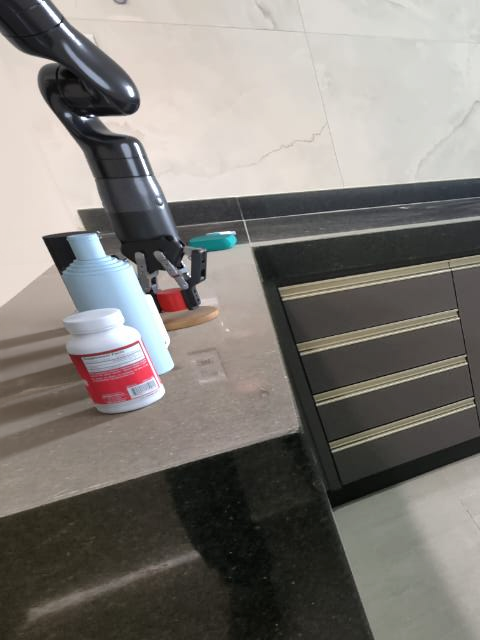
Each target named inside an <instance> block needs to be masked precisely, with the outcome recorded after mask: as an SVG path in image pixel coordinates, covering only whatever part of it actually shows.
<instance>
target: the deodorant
mask: <svg viewBox="0 0 480 640" xmlns="http://www.w3.org/2000/svg"><path fill="white" fill-rule="evenodd" d="M87 233H94V231H93V230H74V231H66V232H59V233H52V234H45V235H43V236H41V238H42V241H43V243H44V245H45V247H46V248H47V251H48V253H49V255H50V257H51V259H52V261H53V264H54V265H55V267H56V269H57V271H58V273H59V275H60V277H61V280H62V282H63V283H64V281H63V279H62V275H63V273H62V272H63V271H65V270H66V268H67V267H69V266H70V264H71V263H74V262H73V261H74V260H76V256H75V254H74V252H73V250H72V248H71V246H70V244H69V241H68V240H67V237H68V236H71V235H78V234H87ZM64 286H65V288H66V290H67V292H68V294H69V296H70V298H71V300H72V302H73V305H74V306H75V308H76V309H77V307H76V305H75V303H74V301H73V299H72V297H71V295H70V293H69V291H68V289H67V287H66V285H65V283H64Z"/></svg>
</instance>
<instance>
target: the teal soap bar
mask: <svg viewBox="0 0 480 640" xmlns="http://www.w3.org/2000/svg"><path fill="white" fill-rule="evenodd" d="M235 235H237V233H236V231H235V230H233V231H231V230H230V231H229V230H228V231H227V230H226V231H215V232H209V233H205V234H204V235H199V236H195V237H192V238H190V239H189V241H188V243H187V246H189V247H194V248H200V247H204V248H206V250H207V252H215V251H222V250H223V251H225V250H230V249H232V248H233V247H234V246H235V245H236V244H237V241H238V240H237V238H236V236H235ZM233 245H234V246H233ZM232 246H233V247H232Z"/></svg>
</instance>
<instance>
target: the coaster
mask: <svg viewBox="0 0 480 640" xmlns="http://www.w3.org/2000/svg"><path fill="white" fill-rule="evenodd" d="M159 315H160V317H161V320H162V322H163V324H164V327H165V329H166V331H172V330H173V331H174V330H180V329H185V328H190V327H194V326H198V325H202V324H205V323H207V322H210V321H212V320H214V319H217V318H218V317H219V315H220V313H219V309H218V307H216V306H212V305H199V308H197V309H196V310H190V311H189V310H188V309H185V310H182V311H176V312H165V313H159Z"/></svg>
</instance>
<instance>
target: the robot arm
mask: <svg viewBox="0 0 480 640" xmlns="http://www.w3.org/2000/svg"><path fill="white" fill-rule="evenodd" d="M0 34H1V35H2V37H4V38H5V40H7V42H8V43H10V45H12V46H13V47H14V48H15V49H16V50H18V51H19V52H21V53H22V54H25V55H28V56H30V57H35V58H40V59H44V60H48V61H52V62H49V63H45V64H43V65H42V66H41V67H40V68H39V70H38V72H37V78H36V81H37V88H38V91H39V94H40V95H41V97H42V99H43V101H44V102H45V104H46V105H47V106H48V108H49V109H50V110H51V111H52V113H53V114H54V115H55V117H56V118H57V119H58V121H59V122H60V124H61V125H62V126H63V127H64V128H65V130H66V131H67V132H68V134H69V135H70V136H71V138H72V139H73V140H74V141H75V143H76V144H77V145H78V147H79V148H80V150H81V151H82V153H83V156H84V158H85V160H86V162H87V165H88V168H89V170H90V172H91V175H92V177H93V179H94V183H95V185H96V190H97V193H98V196H99V199H100V201H101V206H102V207H103V209H104V211H105V214H106V216H107V218H108V221H109V222H110V225H111V227H112V230H113V232H114V234H115V237H116V239H117V240H118V241H119V243H120V248H119V251H117V252H114V253H111V254H108V255H109V256H111V257H113V258H117V260H122V261H123V262H128V263H129V261H130V262H132V263H133V264H134V265H136V271H135V270H134V272H135V274H136V277H137V279H138V281H139V284H140V286H141V288H142V291H143V293H144V295H147V294H148V295H151V296H152V298H153V301H154V303H155V305H156V308H157V310H158V313H165V312H163V310H162V309H161V307H160V304H159V302H158V299H157V296H156V293H157V292H159V291H162V288H159V279H158V276H159V273H160V271H162V272H166V273H167V274H168V275H169V276H170V278H173V279H174V281H175V282H176V283H177V285H178V286H179V288H182V290H181V293H182V295H183V298H184V300H185V303H186V306H187V308H188V310H189V311H190V310H196V309H197V308H199V306H201V304H202V300H201V298H200V294H199V292H198V290H197V285H199V284H201V283H203V282H205V281H206V280H207V264H208V251H207V250H206V248H204V247H200V248H194V247H189V246H188V245H187V244H186V243H185V242H184V241H183V240H182V238H180V236H179V230H178V227H177V224H176V221H175V219H174V217H173V214H172V212H171V209H170V205H169V204H168V200H167V198H166V195H165V193H164V191H163V188H162V186H161V185H160V183H159V180H158V179H157V177H156V175H155V172H154V170H153V167H152V165H151V162H150V159H149V157H148V154H147V150H146V148H145V146H144V144H143V142H141V140H140V139H138V137H136V136H133V135H128V134H123V133H117V132H114V131H112V130H110V128H109V127H107V125H105V123H103V121H102V120H101V118H103V117H104V118H106V117H109V118H110V117H127V116H131V115H134V114H136V113H137V112H138V111H139V109H140V107H141V99H142V98H141V94H140V91H139V89H138V86H137V85H136V83H135V82H134V79H133V78H132V77H131V76H130V75H129V74H128V73H127V71H126V70H124V68H123V67H122V66H121V65H120V64H119V63H117V62H116V60H114V59H113V58H112V57H111V56H110V55H108V54H107V53H106V52H105V51H104V50H102V48H100V47H99V46H97V45H96V44H95V43H94V42H93V41H92V40H90V38H88V37H87V36H86V35H84V34H83V33H82V32H81V31H79V30H78V29H77V28H75V26H74V25H72V24H71V23H70V22H69V21H68V19H67V18H66V17H65V16H64V14H63V13H62V12H61V11H60V10H59V9H58V7H57V5H55V4H54V2H53V1H52V0H0ZM185 254H186V256H187V259H188V260H189V261H190V270H189V268H188V267H187V265H186V263H184V261H183V258H184V257H185ZM129 264H130V263H129Z"/></svg>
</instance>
